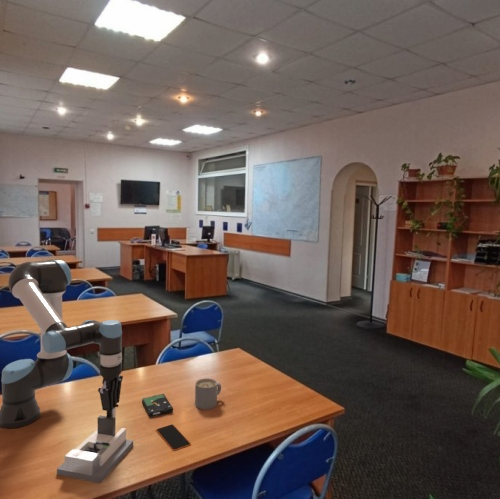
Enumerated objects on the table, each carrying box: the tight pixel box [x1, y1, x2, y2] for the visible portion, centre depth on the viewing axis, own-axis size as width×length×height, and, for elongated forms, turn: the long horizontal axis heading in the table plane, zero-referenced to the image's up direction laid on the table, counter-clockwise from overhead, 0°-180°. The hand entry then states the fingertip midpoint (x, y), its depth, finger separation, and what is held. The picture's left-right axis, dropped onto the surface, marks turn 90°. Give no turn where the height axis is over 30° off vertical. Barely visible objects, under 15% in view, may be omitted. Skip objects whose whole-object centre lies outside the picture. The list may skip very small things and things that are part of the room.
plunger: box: [89, 415, 116, 449], centre depth 140 cm, size 6×7×10 cm
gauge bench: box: [56, 427, 134, 484], centre depth 138 cm, size 16×21×6 cm
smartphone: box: [155, 423, 192, 452], centre depth 153 cm, size 8×17×1 cm, turn 36°
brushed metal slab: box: [64, 448, 99, 476], centre depth 129 cm, size 10×4×5 cm, turn 78°
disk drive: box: [141, 393, 174, 419], centre depth 175 cm, size 10×3×15 cm
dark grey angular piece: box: [86, 441, 109, 453], centre depth 136 cm, size 8×2×5 cm, turn 78°
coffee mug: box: [194, 377, 222, 410], centre depth 181 cm, size 13×10×10 cm
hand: (111, 424), depth 146 cm, fingers closed
